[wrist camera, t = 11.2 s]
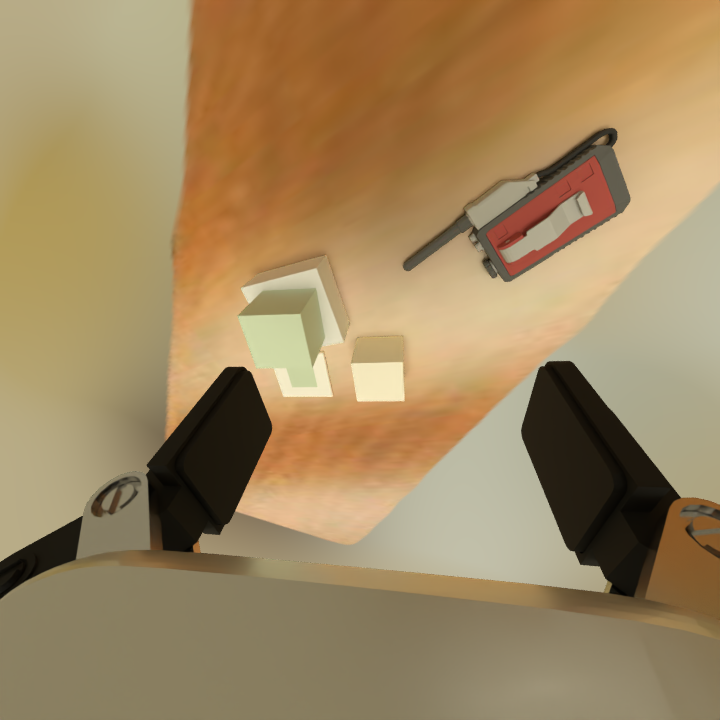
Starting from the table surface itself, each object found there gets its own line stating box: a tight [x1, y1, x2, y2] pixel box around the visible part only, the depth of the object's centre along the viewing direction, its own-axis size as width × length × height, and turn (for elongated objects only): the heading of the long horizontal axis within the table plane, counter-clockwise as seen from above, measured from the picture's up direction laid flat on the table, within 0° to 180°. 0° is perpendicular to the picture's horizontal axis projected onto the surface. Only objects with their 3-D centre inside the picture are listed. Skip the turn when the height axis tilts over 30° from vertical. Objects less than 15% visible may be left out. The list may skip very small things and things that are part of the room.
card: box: [274, 351, 333, 397], centre depth 44 cm, size 8×8×1 cm
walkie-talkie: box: [403, 128, 630, 282], centre depth 29 cm, size 9×4×20 cm
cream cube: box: [351, 336, 404, 401], centre depth 38 cm, size 6×6×6 cm
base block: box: [241, 255, 350, 347], centre depth 35 cm, size 9×9×5 cm
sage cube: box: [238, 288, 325, 368], centre depth 31 cm, size 6×6×6 cm
